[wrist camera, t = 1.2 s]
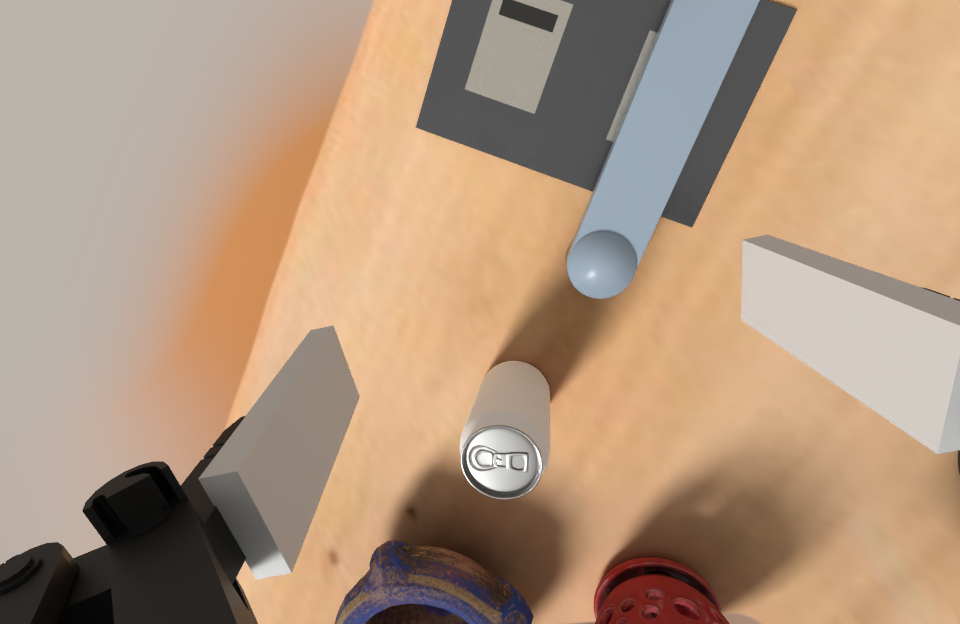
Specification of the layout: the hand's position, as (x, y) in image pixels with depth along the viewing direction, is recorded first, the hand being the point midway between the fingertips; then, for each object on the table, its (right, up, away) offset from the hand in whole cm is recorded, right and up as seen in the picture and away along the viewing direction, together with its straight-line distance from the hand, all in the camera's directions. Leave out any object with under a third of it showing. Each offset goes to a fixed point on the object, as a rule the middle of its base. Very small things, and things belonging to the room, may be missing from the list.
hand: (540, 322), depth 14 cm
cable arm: (+10, +12, +20) cm, 25 cm away
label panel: (+7, +19, +20) cm, 28 cm away
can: (+1, -7, +28) cm, 29 cm away
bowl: (-6, -29, +34) cm, 45 cm away
